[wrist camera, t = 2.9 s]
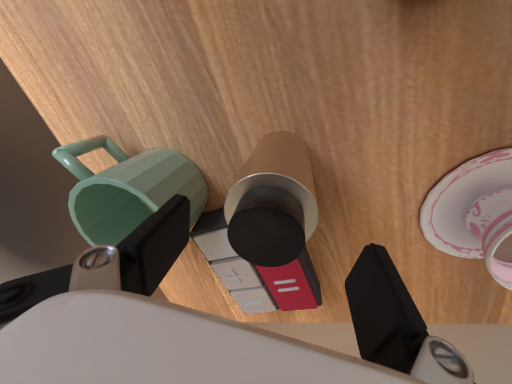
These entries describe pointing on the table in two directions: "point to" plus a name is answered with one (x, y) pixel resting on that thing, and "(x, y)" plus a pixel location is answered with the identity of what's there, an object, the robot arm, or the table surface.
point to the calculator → (255, 272)
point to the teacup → (474, 213)
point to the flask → (273, 202)
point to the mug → (127, 188)
